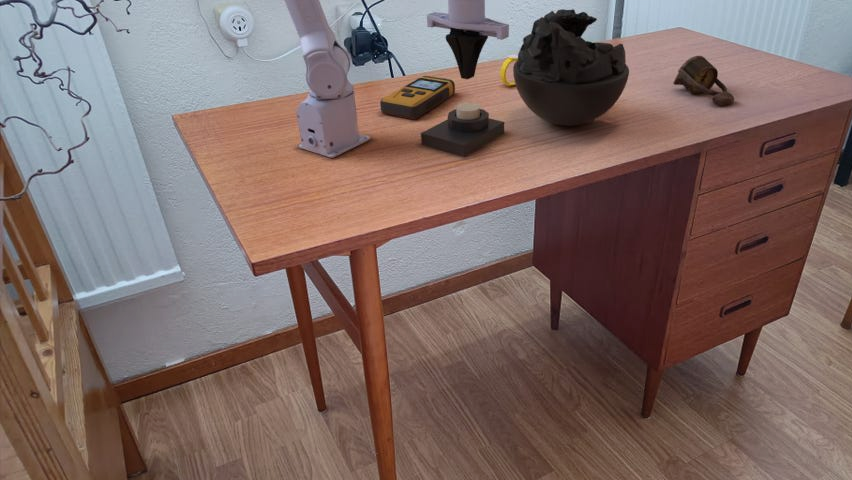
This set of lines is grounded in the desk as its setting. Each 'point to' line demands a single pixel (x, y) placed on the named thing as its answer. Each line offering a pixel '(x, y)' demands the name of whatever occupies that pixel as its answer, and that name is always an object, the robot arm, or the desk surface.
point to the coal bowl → (568, 70)
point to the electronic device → (417, 97)
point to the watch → (504, 67)
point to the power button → (468, 111)
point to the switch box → (462, 134)
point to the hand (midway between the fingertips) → (467, 77)
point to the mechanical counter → (702, 80)
